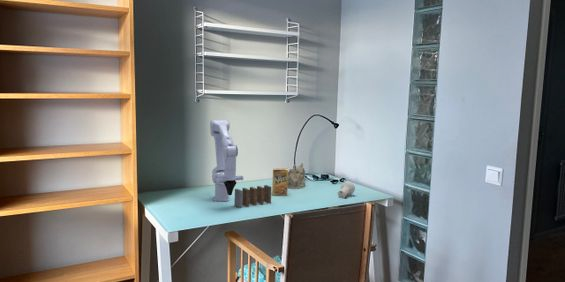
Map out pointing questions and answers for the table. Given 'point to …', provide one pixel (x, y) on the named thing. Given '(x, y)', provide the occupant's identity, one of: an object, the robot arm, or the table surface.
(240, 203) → the domino
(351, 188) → the pale grey rounded lump
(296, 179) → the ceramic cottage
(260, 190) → the domino
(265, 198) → the domino
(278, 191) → the candy box
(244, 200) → the domino
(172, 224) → the table surface
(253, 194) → the domino
